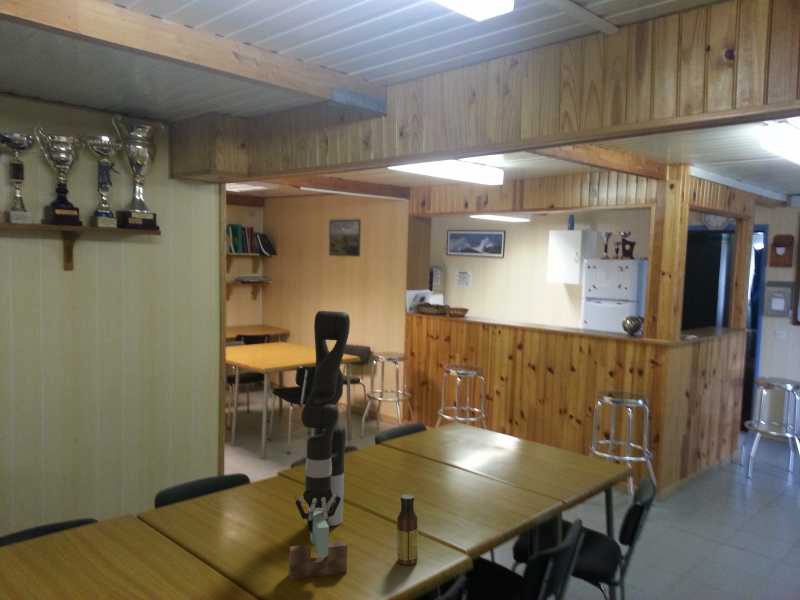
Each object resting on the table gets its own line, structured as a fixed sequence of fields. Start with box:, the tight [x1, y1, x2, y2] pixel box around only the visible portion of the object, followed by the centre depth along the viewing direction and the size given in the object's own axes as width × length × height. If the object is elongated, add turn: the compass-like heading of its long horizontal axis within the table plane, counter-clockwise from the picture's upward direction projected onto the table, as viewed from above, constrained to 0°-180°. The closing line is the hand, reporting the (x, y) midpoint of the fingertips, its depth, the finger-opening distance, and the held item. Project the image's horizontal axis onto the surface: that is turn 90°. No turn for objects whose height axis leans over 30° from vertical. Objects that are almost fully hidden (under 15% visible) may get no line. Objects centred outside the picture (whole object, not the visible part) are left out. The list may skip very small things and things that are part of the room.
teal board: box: [309, 510, 330, 557], centre depth 172 cm, size 12×3×8 cm, turn 18°
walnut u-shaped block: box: [288, 540, 348, 580], centre depth 172 cm, size 16×3×8 cm, turn 108°
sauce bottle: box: [396, 493, 419, 566], centre depth 181 cm, size 7×6×20 cm
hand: (316, 530), depth 176 cm, fingers closed on teal board, 3 cm apart
